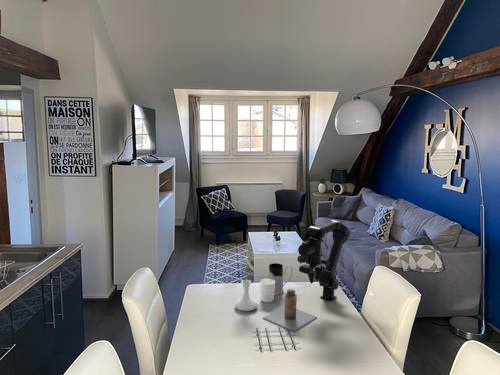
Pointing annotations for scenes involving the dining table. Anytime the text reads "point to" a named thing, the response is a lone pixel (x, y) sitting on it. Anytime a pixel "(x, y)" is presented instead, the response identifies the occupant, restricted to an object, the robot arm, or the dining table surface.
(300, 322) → the slate tile
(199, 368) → the dining table surface
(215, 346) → the dining table surface
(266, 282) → the white cup
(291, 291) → the pepper mill
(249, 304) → the flower in vase
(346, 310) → the dining table surface
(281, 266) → the grey pitcher
